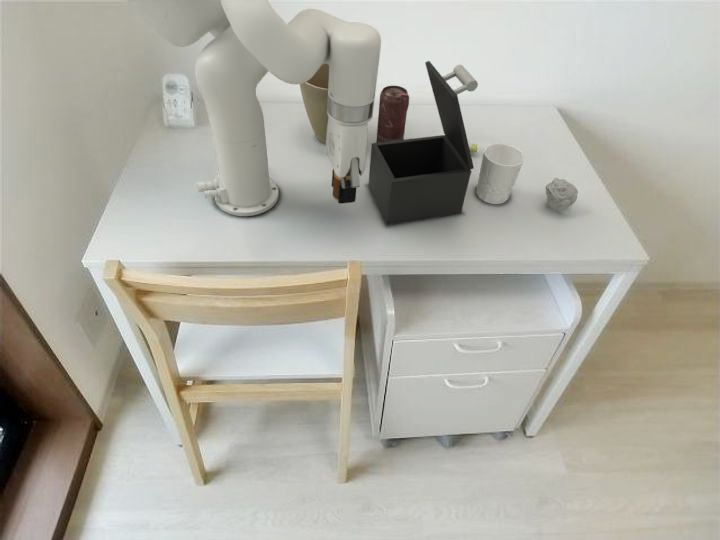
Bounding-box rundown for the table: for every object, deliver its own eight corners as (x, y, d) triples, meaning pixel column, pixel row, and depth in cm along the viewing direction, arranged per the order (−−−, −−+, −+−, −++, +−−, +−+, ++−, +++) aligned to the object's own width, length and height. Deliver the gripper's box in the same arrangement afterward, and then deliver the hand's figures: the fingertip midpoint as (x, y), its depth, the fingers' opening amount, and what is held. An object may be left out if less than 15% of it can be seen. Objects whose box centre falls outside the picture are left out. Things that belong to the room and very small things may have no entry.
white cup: (465, 191, 110) (475, 151, 103) (489, 178, 114) (501, 138, 106) (494, 211, 106) (507, 170, 99) (518, 197, 110) (532, 156, 102)
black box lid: (452, 97, 84) (484, 81, 84) (424, 62, 93) (453, 48, 92) (470, 170, 97) (497, 157, 97) (444, 133, 105) (469, 121, 105)
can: (401, 157, 117) (408, 100, 107) (373, 153, 118) (378, 95, 108) (405, 143, 122) (412, 86, 111) (378, 139, 122) (383, 82, 112)
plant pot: (291, 126, 124) (288, 61, 113) (349, 116, 129) (351, 52, 117) (312, 160, 115) (311, 93, 103) (373, 148, 119) (379, 83, 108)
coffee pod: (335, 202, 96) (336, 181, 92) (330, 189, 99) (331, 167, 95) (356, 200, 97) (358, 178, 93) (350, 186, 100) (352, 165, 96)
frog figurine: (532, 200, 109) (543, 173, 104) (562, 197, 110) (573, 169, 105) (546, 219, 105) (558, 192, 100) (577, 215, 106) (590, 188, 101)
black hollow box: (386, 225, 101) (391, 181, 94) (368, 185, 110) (371, 143, 102) (460, 213, 105) (471, 171, 97) (437, 176, 113) (445, 134, 106)
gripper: (316, 81, 89) (314, 169, 102) (341, 136, 78) (334, 226, 91) (358, 79, 91) (350, 165, 104) (388, 132, 80) (375, 221, 93)
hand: (343, 193), depth 98 cm, fingers closed on coffee pod, 4 cm apart
